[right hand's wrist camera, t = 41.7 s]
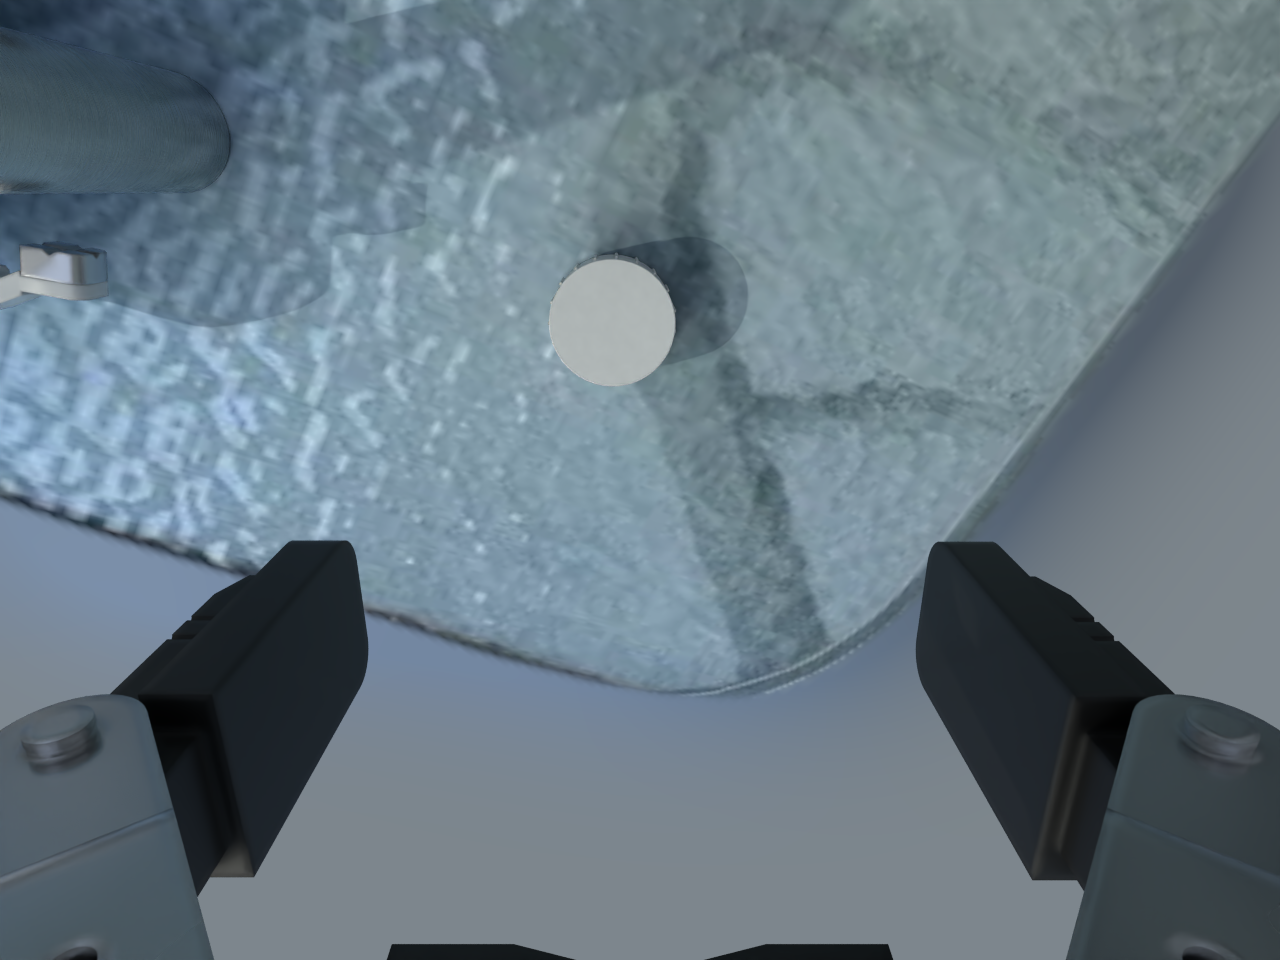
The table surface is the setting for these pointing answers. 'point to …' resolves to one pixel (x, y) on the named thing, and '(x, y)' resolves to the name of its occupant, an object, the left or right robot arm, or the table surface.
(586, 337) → the lid
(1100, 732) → the right robot arm
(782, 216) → the table surface
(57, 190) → the jar
